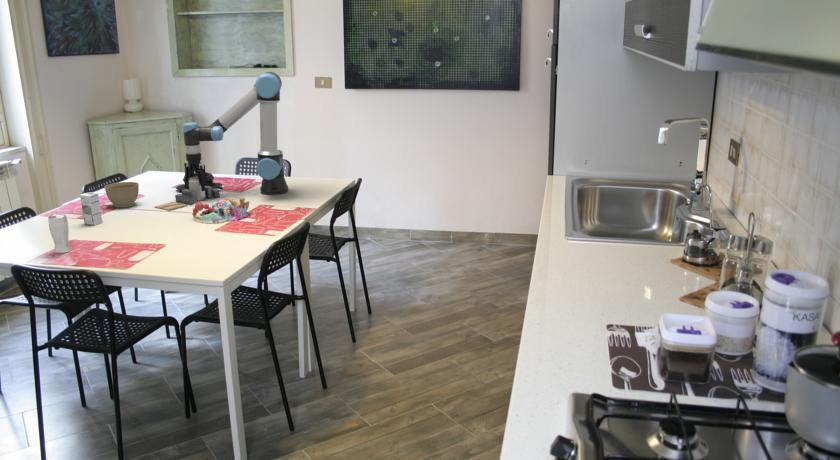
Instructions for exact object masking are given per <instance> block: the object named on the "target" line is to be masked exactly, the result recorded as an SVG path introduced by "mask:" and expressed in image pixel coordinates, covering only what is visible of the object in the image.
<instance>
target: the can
mask: <svg viewBox="0 0 840 460" xmlns="http://www.w3.org/2000/svg"><path fill="white" fill-rule="evenodd" d="M199 184H200V182H199V179H198V177H191V178H190V180H189V188H190V190H193V191H196V195H197V202H202V201H204V200H205V199H206V198H205V197H200V188H199Z"/></svg>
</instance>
